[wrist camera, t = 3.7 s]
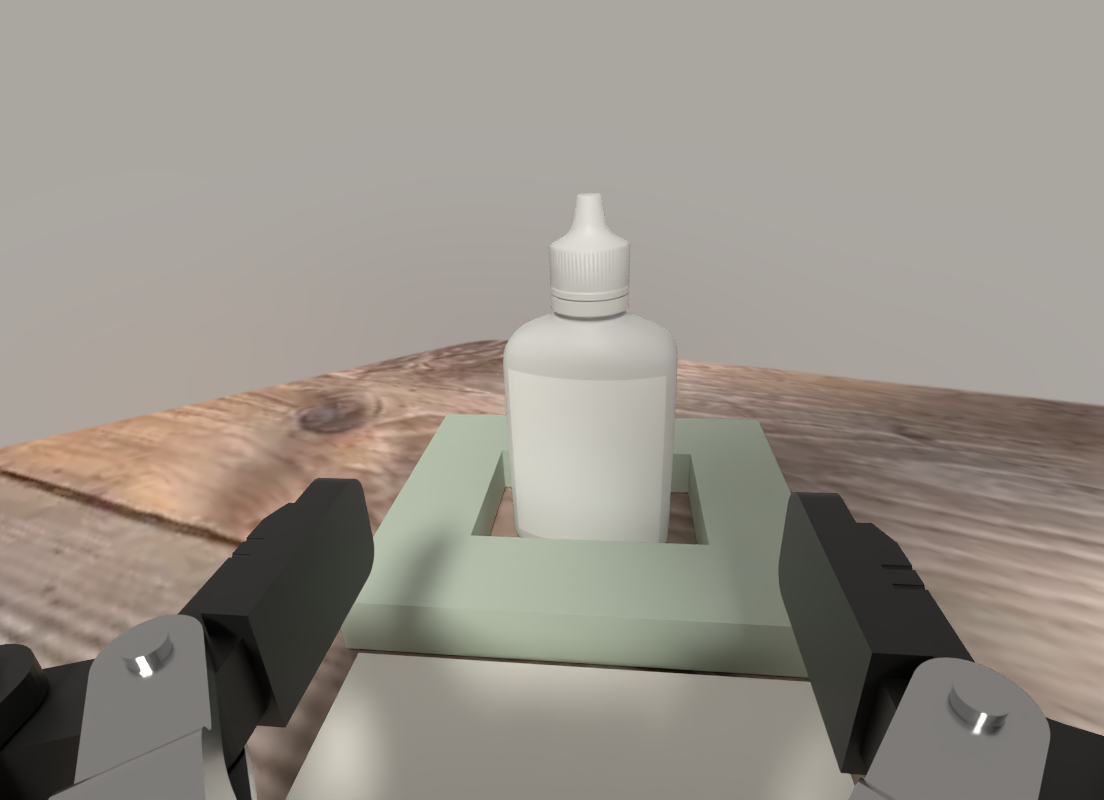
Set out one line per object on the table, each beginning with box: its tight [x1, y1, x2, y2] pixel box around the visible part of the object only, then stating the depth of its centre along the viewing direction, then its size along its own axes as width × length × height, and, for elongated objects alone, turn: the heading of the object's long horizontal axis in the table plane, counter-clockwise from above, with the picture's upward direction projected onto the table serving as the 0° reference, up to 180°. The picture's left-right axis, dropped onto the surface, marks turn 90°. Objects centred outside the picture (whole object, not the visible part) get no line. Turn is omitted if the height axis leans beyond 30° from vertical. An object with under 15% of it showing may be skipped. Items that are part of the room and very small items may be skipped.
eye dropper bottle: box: [503, 193, 678, 543], centre depth 20 cm, size 4×6×12 cm
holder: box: [341, 414, 809, 678], centre depth 22 cm, size 14×12×2 cm
